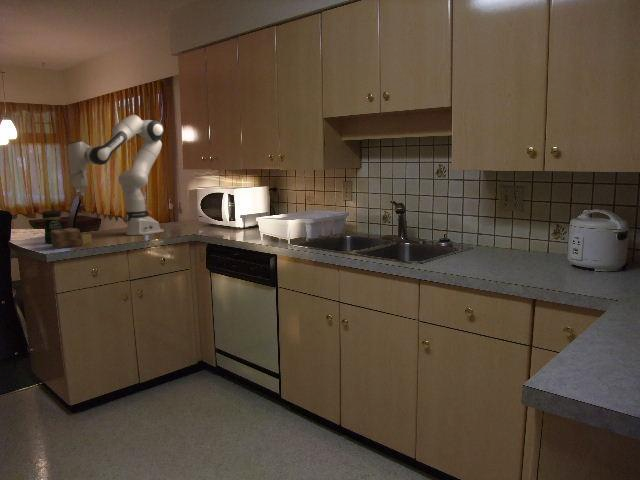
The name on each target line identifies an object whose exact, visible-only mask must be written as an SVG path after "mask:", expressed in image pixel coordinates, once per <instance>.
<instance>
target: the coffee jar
mask: <svg viewBox="0 0 640 480" xmlns="http://www.w3.org/2000/svg"><path fill="white" fill-rule="evenodd" d="M41 217H42V221H43V224H44V243H45V244H52V237H51V230H59V229H62V223H61V221H62V216H61V211H60V210H47V211H43V212H42V216H41Z"/></svg>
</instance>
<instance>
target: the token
mask: <svg viewBox="0 0 640 480" xmlns="http://www.w3.org/2000/svg"><path fill="white" fill-rule="evenodd" d="M80 236H81V245H84V244H92V243H93V238H92V234H91V233H85V234H80Z"/></svg>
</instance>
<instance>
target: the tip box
mask: <svg viewBox="0 0 640 480" xmlns="http://www.w3.org/2000/svg"><path fill="white" fill-rule="evenodd" d="M51 237H52V243H51V245H52V247H53V248H54V247H55V248H54V249H56V248H57V250H62V248H63V249H69V248H78V247H82V246H83V244H82V242H81V229H79V228H75V227H71V228H70V227H69V228H61V229H59V230H51Z"/></svg>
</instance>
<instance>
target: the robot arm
mask: <svg viewBox="0 0 640 480" xmlns="http://www.w3.org/2000/svg"><path fill="white" fill-rule="evenodd" d="M164 130H165V129H164V125H163V124H162V123H161V122H160V121H158V120H153V119H152V120H151V119H142V118H140V117H139V116H138V115H136V114H131V115H128V116H127V117H125V118H123V119H121V120H120V121H119V122H117V123H116V125H114V126H113V128H112V129H111V134H112V137H111V138H110V139H109V140H108V141H107V142H105V143H104V144H102V145H98V146H91V145H89V144H87V143H85V142H84V141H83V140H76V141H71V142H69V143H68V145H67V157H68V161H69V164H68V169H69V170H68V174H69V175H70V182H71V185H72V187H74V188H75V193H76V195H77V196H81V197H82V196H85V194H86V193H85V191H86V188H88V177H87V174H88V169H87V168H88V166H87V164H88V165H100V166H102V165H105V164H107V163H108V162H109V161H110V159H111V157H112V156H113V155H112V154H113V153H115V152H116V151H117V150H118V149H119V148H120V147H122V145H123V144H125V143H126V142H128V141H129V140H132V138H133V137H134V136H138V138H139V137H140V138H143V140H144V141H143V144H142V145H141V147H140V149H139V150H138V152H137V154H136V155H135V156H134V159H133V161H134V162H133V166H132V167H131V169H130V170H125V171H123V172H121V173H120V174H119V175H118V176H119V177H118V183H119V184H120V186H121V190H122V192H123V195H124V200H125V209H126V212H125V216H126V223H127V224H126V228H127V229H126V234H125V235H126V236H127V235H128V236H146V235H151V234H152V235H153V234H159V233H164V232H165V229H163V228H161V227H160V222H158V221H157V220H156V219H154V218H153V217H151V216H150V215H152V211H151V210H146V202H145V201H146V200H145V197H144V195H143V193H142V190H141V189H143V188H145V187H146V186H147V185H148V182H149V175H150V172H151V169H152V167H153V165H154V164H155V162H156V160H157V159H158V157H159V155H160V152H161V150H162V147H163V143H162V141H161V140H162V138H163V135H164V132H165V131H164Z"/></svg>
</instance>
